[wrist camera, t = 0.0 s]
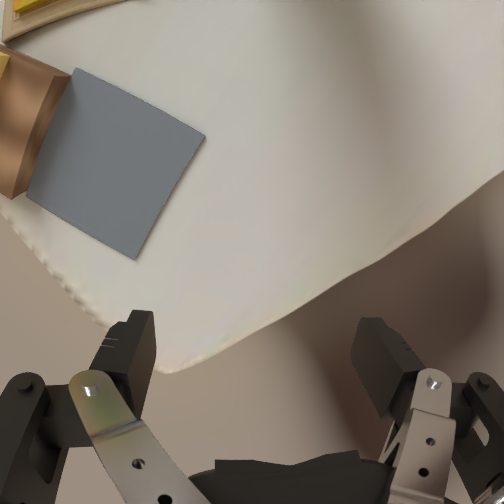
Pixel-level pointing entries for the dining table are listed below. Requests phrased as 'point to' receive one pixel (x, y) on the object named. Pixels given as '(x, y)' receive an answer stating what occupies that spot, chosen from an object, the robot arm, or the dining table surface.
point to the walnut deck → (25, 116)
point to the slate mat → (110, 162)
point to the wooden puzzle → (41, 13)
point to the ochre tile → (3, 62)
